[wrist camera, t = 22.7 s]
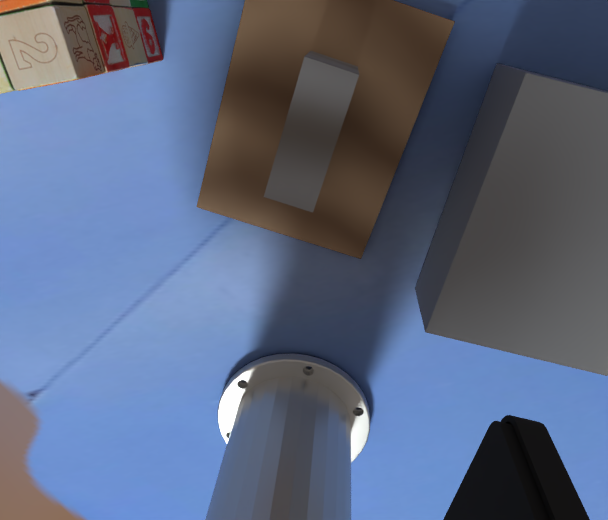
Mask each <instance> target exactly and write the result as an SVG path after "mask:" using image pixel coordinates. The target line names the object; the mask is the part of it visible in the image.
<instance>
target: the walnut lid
mask: <svg viewBox="0 0 608 520" xmlns="http://www.w3.org/2000/svg"><path fill="white" fill-rule="evenodd" d="M454 22H455V21H452V20H449V19H446V18H443V17H440V16H437V15H434V14H432V13H429V12H426V11H423V10H420V9H417V8H414V7H411V6H408V5H406V4H403V3H400V2H397V1H394V0H245V3H244V7H243V11H242V16H241V20H240V24H239V29H238V33H237V37H236V41H235V46H234V50H233V54H232V58H231V63H230V67H229V71H228V75H227V80H226V84H225V88H224V92H223V97H222V101H221V105H220V110H219V114H218V118H217V122H216V127H215V131H214V135H213V139H212V144H211V148H210V152H209V156H208V161H207V165H206V169H205V173H204V178H203V182H202V186H201V191H200V195H199V199H198V203H197V207H198V208H201V209H204V210H208V211H211V212H214V213H217V214H220V215H223V216H226V217H230V218H233V219H236V220H239V221H242V222H245V223H249V224H252V225H255V226H258V227H261V228H264V229H268V230H271V231H274V232H277V233H280V234H283V235H286V236H290V237H293V238H296V239H299V240H302V241H305V242H309V243H312V244H315V245H318V246H321V247H324V248H328V249H331V250H334V251H337V252H340V253H343V254H347V255H350V256H353V257H356V258H359V259H361V258H362V255H363V252H364V250H365V247H366V245H367V242H368V240H369V237H370V235H371V232H372V230H373V227H374V225H375V222H376V220H377V217H378V215H379V212H380V209H381V207H382V204H383V202H384V199H385V197H386V194H387V192H388V189H389V187H390V184H391V182H392V179H393V177H394V174H395V171H396V169H397V166H398V164H399V161H400V159H401V156H402V154H403V151H404V149H405V146H406V144H407V141H408V139H409V136H410V134H411V131H412V128H413V126H414V123H415V121H416V118H417V116H418V113H419V111H420V108H421V106H422V103H423V101H424V98H425V96H426V93H427V91H428V88H429V85H430V83H431V80H432V78H433V75H434V73H435V70H436V68H437V65H438V63H439V60H440V58H441V55H442V53H443V50H444V48H445V45H446V42H447V40H448V37H449V35H450V32H451V30H452V27H453V25H454Z"/></svg>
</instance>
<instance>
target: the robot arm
mask: <svg viewBox="0 0 608 520" xmlns="http://www.w3.org/2000/svg"><path fill="white" fill-rule="evenodd" d="M218 424H219V427H220V431H221V434H222V436H223V438H224V440H225V442H226V444H227V446H226V449H225V453H224V456H223V460H222V463H221V467H220V470H219V474H218V477H217V481H216V484H215V488H214V491H213V495H212V498H211V502H210V505H209V509H208V512H207V516H206V519H205V520H351V462H352V461H354V460H355V459H356V457H357V456H358V455H359V454H360V453H361V451H362V450H363V448H364V446H365V444H366V442H367V440H368V435H369V431H370V414H369V407H368V403H367V401H366V398H365V395H364V393H363V392H362V390H361V389H360V387H359V386H358V384H357V383H356V382H355V381H354V380H353V379H352V378H351V377H350V376H349V375H348V374H347V373H346V372H344V371H343V370H341V369H340V368H338V367H337V366H336V365H333V364H331V363H329V362H327V361H325V360H323V359H319V358H316V357H312V356H309V355H302V354H293V353H291V354H276V355H271V356H266V357H262V358H260V359H258V360H255V361H253V362H250V363H249V364H247V365H246V366H244V367H243V368H241V369H240V370H238V371H237V372H236V373H235V374H234V375H233V376H232V377H231V378H230V380H229V382H228V383H227V385H226V386H225V388H224V391H223V393H222V396H221V399H220V402H219V407H218ZM443 520H590V519H589V517H588V515H587V513H586V511H585V509H584V507H583V505H582V502H581V500H580V498H579V496H578V494H577V492H576V490H575V488H574V486H573V483H572V481H571V479H570V477H569V475H568V473H567V471H566V469H565V467H564V464H563V462H562V460H561V458H560V456H559V454H558V452H557V450H556V448H555V445H554V443H553V441H552V439H551V437H550V435H549V433H548V431H547V429H546V427H545V426H544V424H542V423H540V422H536V421H532V420H528V419H524V418H519V417H515V416H511V415H507V416H505V417H504V418H503V419H502V420H501V422H499V421H494V422H492V423H491V425H490V426H489V428H488V430H487V432H486V434H485V436H484V438H483V440H482V442H481V444H480V446H479V449H478V451H477V453H476V455H475V457H474V459H473V461H472V463H471V465H470V467H469V469H468V471H467V473H466V475H465V477H464V479H463V481H462V483H461V485H460V487H459V489H458V491H457V493H456V495H455V497H454V499H453V501H452V503H451V505H450V507H449V509H448V511H447V513H446V515H445V517H444V519H443Z"/></svg>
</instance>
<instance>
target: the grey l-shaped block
mask: <svg viewBox="0 0 608 520" xmlns="http://www.w3.org/2000/svg"><path fill="white" fill-rule="evenodd" d="M415 290H416V295H417V299H418V303H419V307H420V312H421V316H422V320H423V324H424V328H425V332H427V333H431V334H435V335H439V336H443V337H448V338H452V339H456V340H460V341H464V342H468V343H473V344H477V345H481V346H485V347H489V348H493V349H497V350H502V351H506V352H510V353H514V354H518V355H522V356H527V357H531V358H535V359H539V360H543V361H547V362H551V363H556V364H560V365H564V366H568V367H572V368H576V369H581V370H585V371H589V372H593V373H597V374H601V375H605V376H607V375H608V91H605V90H601V89H597V88H593V87H589V86H585V85H581V84H577V83H574V82H570V81H566V80H562V79H558V78H554V77H550V76H546V75H542V74H538V73H534V72H530V71H526V70H522V69H518V68H514V67H511V66H507V65H503V64H499V63H497V64H496V66H495V69H494V72H493V75H492V77H491V80H490V83H489V86H488V88H487V91H486V94H485V97H484V100H483V102H482V105H481V108H480V111H479V113H478V116H477V119H476V122H475V124H474V127H473V130H472V133H471V135H470V138H469V141H468V144H467V146H466V149H465V152H464V155H463V157H462V160H461V163H460V166H459V168H458V171H457V174H456V177H455V179H454V182H453V185H452V188H451V190H450V193H449V196H448V199H447V201H446V204H445V207H444V210H443V213H442V215H441V218H440V221H439V224H438V226H437V229H436V232H435V235H434V237H433V240H432V243H431V246H430V248H429V251H428V254H427V257H426V259H425V262H424V265H423V268H422V270H421V273H420V276H419V279H418V281H417V284H416V287H415Z"/></svg>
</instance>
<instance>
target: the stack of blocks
mask: <svg viewBox="0 0 608 520" xmlns="http://www.w3.org/2000/svg"><path fill="white" fill-rule="evenodd" d="M162 60H163V56H162V52H161V48H160V45H159V41H158V37H157V33H156V30H155V26H154V22H153V19H152V15H151V11H150V9H149V6H148V3H147V0H0V94H1V93H6V92H11V91H16V90H19V91H20V90H25V89H31V88H36V87H41V86H47V85H52V84H58V83H63V82H68V81H73V80H78V79H82V78H86V77H91V76H95V75H99V74H103V73H108V72H113V71H118V70H122V69H125V68H130V67H136V66H141V65H146V64H150V63H154V62H158V61H162Z"/></svg>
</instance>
